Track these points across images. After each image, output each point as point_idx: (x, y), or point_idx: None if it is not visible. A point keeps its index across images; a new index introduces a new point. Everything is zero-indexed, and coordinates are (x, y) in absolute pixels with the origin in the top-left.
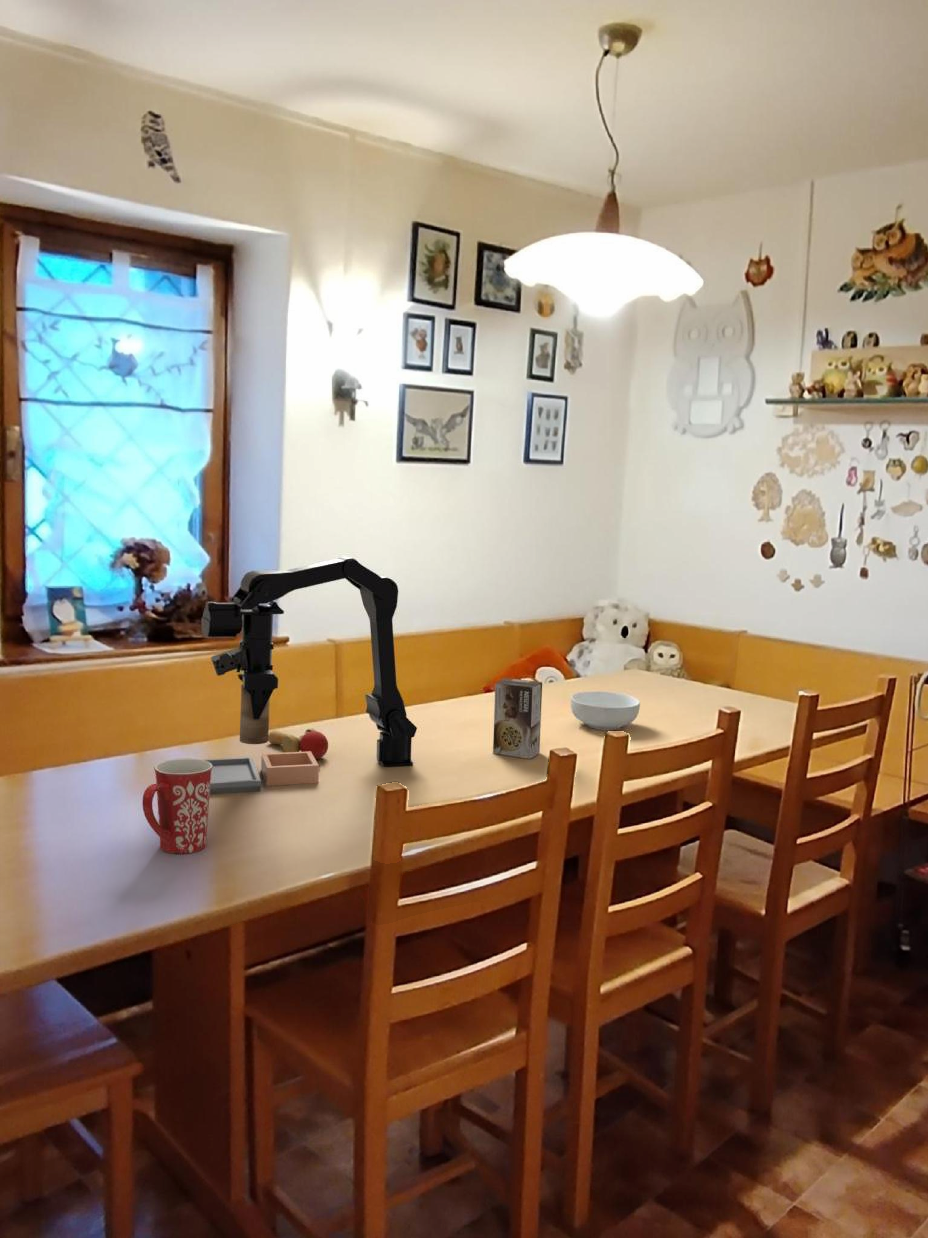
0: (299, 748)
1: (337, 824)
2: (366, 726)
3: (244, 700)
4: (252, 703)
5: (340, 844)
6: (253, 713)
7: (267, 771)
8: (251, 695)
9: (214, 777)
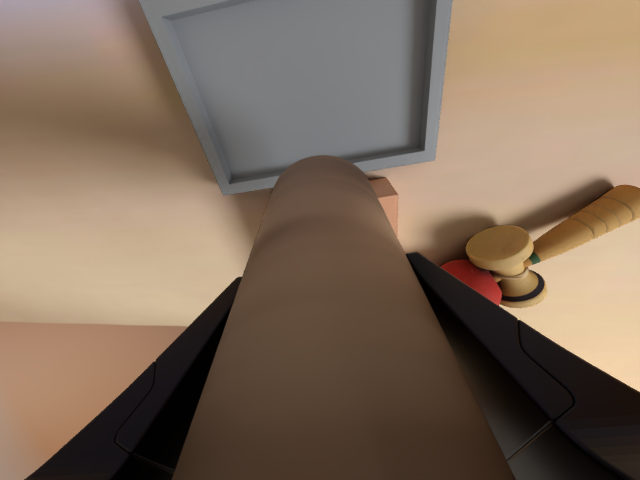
0: (471, 261)
1: (99, 300)
2: (612, 334)
3: (236, 326)
4: (154, 369)
5: (20, 303)
6: (216, 302)
7: (264, 212)
8: (49, 468)
9: (281, 44)
